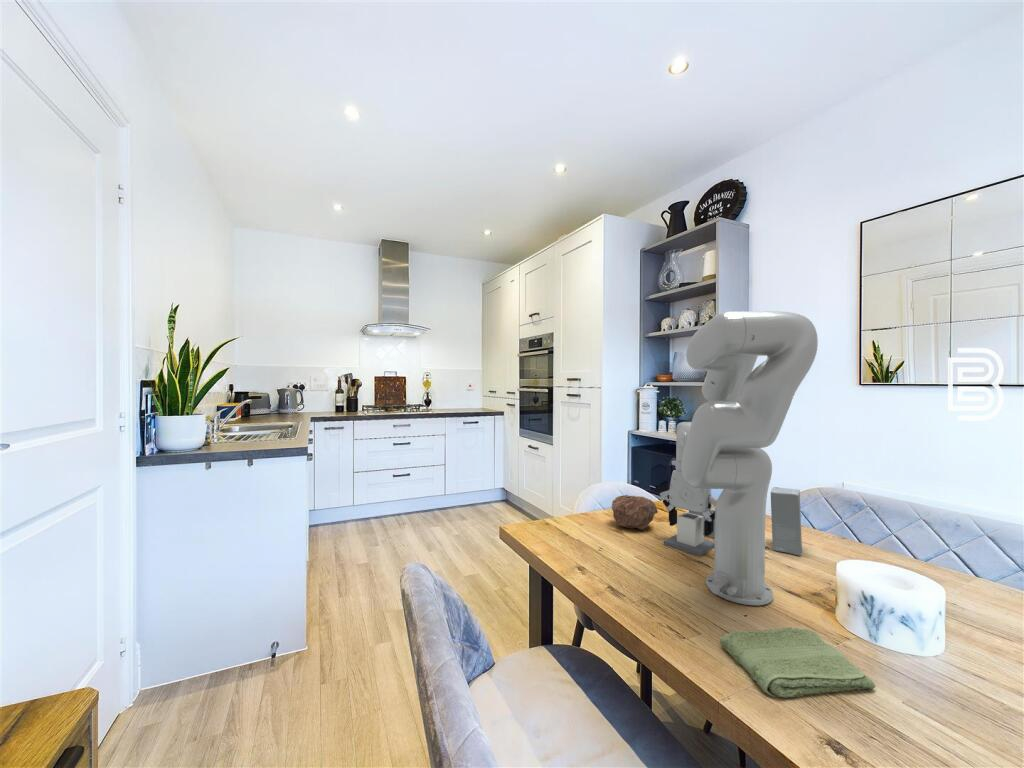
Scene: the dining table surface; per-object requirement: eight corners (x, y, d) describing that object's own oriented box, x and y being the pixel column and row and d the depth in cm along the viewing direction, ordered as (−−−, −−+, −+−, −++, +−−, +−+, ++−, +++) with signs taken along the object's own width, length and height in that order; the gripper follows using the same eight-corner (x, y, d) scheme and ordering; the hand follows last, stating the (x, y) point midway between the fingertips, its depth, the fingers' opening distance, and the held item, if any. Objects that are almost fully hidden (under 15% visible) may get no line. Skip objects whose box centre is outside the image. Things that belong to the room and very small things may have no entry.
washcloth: (881, 695, 60) (882, 673, 59) (769, 705, 58) (770, 682, 58) (807, 638, 73) (807, 620, 72) (714, 645, 71) (714, 626, 71)
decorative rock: (662, 528, 125) (662, 495, 125) (643, 537, 117) (644, 503, 117) (624, 517, 135) (624, 487, 135) (604, 525, 127) (605, 493, 127)
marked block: (695, 546, 109) (695, 519, 108) (676, 541, 112) (677, 515, 112) (703, 542, 112) (703, 515, 112) (685, 536, 116) (685, 511, 116)
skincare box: (801, 557, 105) (802, 495, 105) (768, 549, 109) (769, 491, 109) (802, 546, 112) (803, 488, 112) (771, 540, 116) (772, 484, 116)
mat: (700, 556, 105) (700, 552, 105) (663, 544, 113) (663, 540, 113) (716, 545, 112) (716, 542, 112) (680, 535, 119) (680, 531, 119)
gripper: (654, 464, 116) (654, 524, 116) (718, 474, 103) (717, 542, 103) (667, 460, 121) (667, 518, 121) (729, 470, 108) (729, 535, 108)
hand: (690, 529), depth 112 cm, fingers open, 9 cm apart
